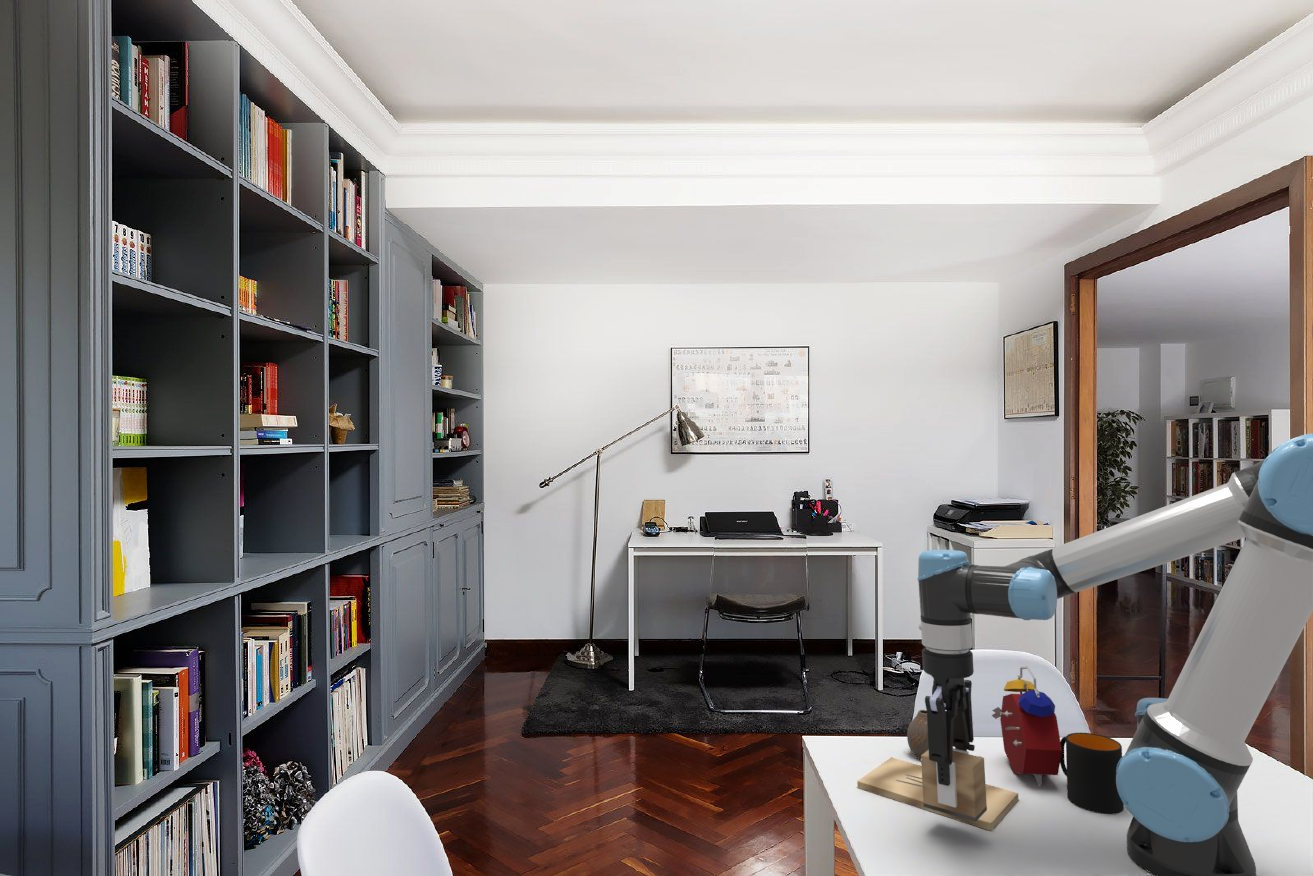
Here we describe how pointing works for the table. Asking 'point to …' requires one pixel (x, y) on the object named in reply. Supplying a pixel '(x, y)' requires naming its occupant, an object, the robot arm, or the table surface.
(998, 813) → the board
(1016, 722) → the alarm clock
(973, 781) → the wooden block
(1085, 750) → the mug
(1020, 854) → the table surface
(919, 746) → the vase
